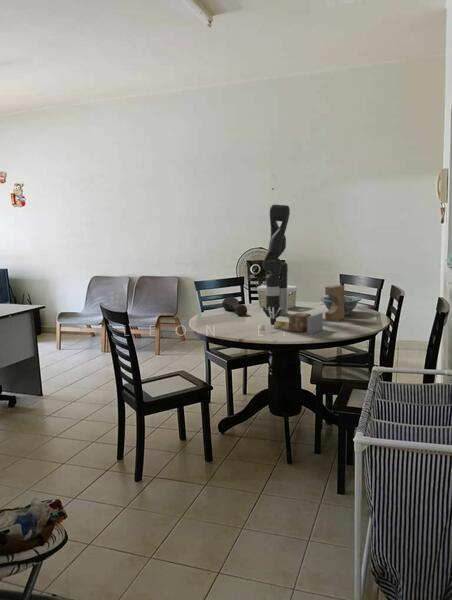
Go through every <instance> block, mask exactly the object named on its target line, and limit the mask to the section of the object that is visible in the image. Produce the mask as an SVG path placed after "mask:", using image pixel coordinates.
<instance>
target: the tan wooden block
mask: <svg viewBox="0 0 452 600" xmlns="http://www.w3.org/2000/svg"><path fill="white" fill-rule="evenodd" d="M273 328H274V329H277V328H278V330H279V329H280V330H286V331H290V330H289V321H282V320H276V322H274V325H273Z"/></svg>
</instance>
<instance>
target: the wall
mask: <svg viewBox="0 0 452 600" xmlns="http://www.w3.org/2000/svg"><path fill="white" fill-rule="evenodd" d="M323 316H324V315H323V312H318V313H317V312H316V313H314V314H311V316H309V317H307V330H306V331H307V333H306V334H307V335H313V334H315V333H318V332H320V331H322V330H323V327H324V326H323V325H324V321H323V320H324V319H323Z"/></svg>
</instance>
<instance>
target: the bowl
mask: <svg viewBox="0 0 452 600" xmlns="http://www.w3.org/2000/svg"><path fill="white" fill-rule="evenodd" d="M320 301H321V302H323V303H324V305H325V308H326V309H327V311H329V309H330V308H331V306H332V299H331V298H330V297H329V296H328V295H325V296H322V297H321V298H320ZM360 301H362V298H361V297H360V296H353V295H344V316H347V315H349V314H350V313H351V312H352V311H354V309H355V308H356V306H357V304H358V302H360Z"/></svg>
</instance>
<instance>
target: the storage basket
mask: <svg viewBox="0 0 452 600" xmlns="http://www.w3.org/2000/svg"><path fill="white" fill-rule="evenodd" d="M256 291H257V294H258V295H257V296H258V304H259V305H258V306H259V307H261V308H265V307H266V304H267V302H266V284H264V285H263V284H262V285H259V286H257V289H256ZM297 291H298V288H297V286H296V285H295V286H294V285H288V284H287V292H288V309H291V308H295V307H296V303H297Z"/></svg>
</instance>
